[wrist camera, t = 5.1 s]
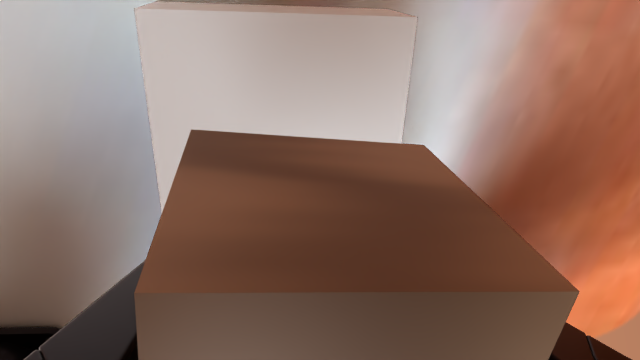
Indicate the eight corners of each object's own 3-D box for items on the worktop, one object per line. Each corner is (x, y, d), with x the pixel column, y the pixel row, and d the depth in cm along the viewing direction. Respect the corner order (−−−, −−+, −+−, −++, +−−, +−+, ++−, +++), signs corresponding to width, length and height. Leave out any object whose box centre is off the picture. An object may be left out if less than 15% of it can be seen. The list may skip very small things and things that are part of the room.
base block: (181, 205, 20) (167, 255, 17) (158, 0, 17) (134, 8, 13) (365, 199, 22) (388, 243, 18) (384, 8, 18) (417, 17, 14)
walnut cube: (190, 322, 11) (152, 570, 6) (191, 129, 9) (134, 293, 4) (382, 318, 12) (468, 531, 7) (424, 145, 10) (579, 292, 5)
